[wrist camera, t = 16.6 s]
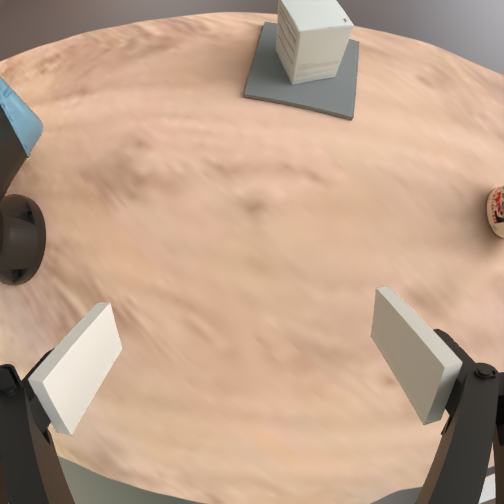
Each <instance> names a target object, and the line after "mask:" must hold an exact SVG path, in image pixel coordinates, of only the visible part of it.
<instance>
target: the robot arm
mask: <svg viewBox="0 0 504 504" xmlns="http://www.w3.org/2000/svg"><path fill="white" fill-rule="evenodd" d="M42 131H43V125H42V122H41V120H40V119H39V117H38V116H37V115H36V114H35V113H34V112H33V111H32V110H31V109H30V108H29V107H28V106H27V105H26V103H25V102H24V101H23V100H22V99H21V98H20V97H19V96H18V95H17V94H16V93H15V92H14V91H13V90H12V88H11V87H10V86H9V85H8V84H7V83H6V82H5V81H4V80H3V79H2V78H1V77H0V282H1V283H4V284H7V285H17V284H23V283H25V282H27V281H28V280H30V279H31V278H32V277H33V276H34V274H35V273H36V271H37V270H38V268H39V266H40V264H41V261H42V258H43V255H44V250H45V243H46V230H45V223H44V218H43V215H42V212H41V210H40V208H39V207H38V205H37V204H36V203H35V202H34V201H33V200H32V199H30V198H28V197H25V196H22V195H17V194H13V195H7V196H4V195H5V193H6V191H7V189H8V188H9V186H10V184H11V182H12V181H13V179H14V177H15V176H16V174H17V172H18V171H19V169H20V167H21V166H22V164H23V163H24V161H25V160H26V158H29V156H30V152H31V150H32V149H33V147H34V146H35V144H36V142H37V141H38V139H39V138H40V136H41V134H42ZM371 337H372V339H373V341H374V342H375V344H376V345H377V347H378V349H379V350H380V352H381V353H382V355H383V357H384V358H385V360H386V362H387V363H388V365H389V367H390V368H391V370H392V372H393V373H394V375H395V377H396V378H397V380H398V382H399V383H400V385H401V387H402V388H403V390H404V392H405V393H406V395H407V397H408V399H409V400H410V402H411V404H412V406H413V407H414V409H415V411H416V413H417V414H418V416H419V418H420V420H421V421H422V423H423V425H426V424H429V423H432V422H435V421H439V420H441V417H442V415H443V413H444V410H445V409H446V410H447V412H448V413H449V415H450V416H449V418H448V420H447V422H446V424H445V426H444V429H443V431H442V433H441V435H442V438H441V441H440V444H439V447H438V450H437V453H436V455H435V458H434V461H433V463H432V466H431V468H430V471H429V473H428V476H427V478H426V480H425V483H424V485H423V487H422V489H421V492H420V494H419V496H418V498H417V500H416V502H415V504H478V503H479V499H480V496H481V492H482V489H483V485H484V481H485V477H486V472H487V468H488V463H489V458H490V453H491V448H492V442H493V450H494V463H495V483H496V504H504V372H501V373H498V371H497V370H496V369H495V368H494V367H493V366H491V365H489V364H486V363H475V362H474V361H473V360H472V359H471V358H470V357H469V356H468V355H467V353H466V352H465V351H464V350H463V349H462V348H461V347H459V345H458V344H457V343H456V342H454V340H453V339H452V338H451V337H450V336H449V335H448V334H447V333H445V332H443V331H441V330H440V329H434V330H432V329H431V328H430V327H429V325H428V324H427V323H426V322H425V321H424V320H423V319H422V318H421V317H420V316H419V315H418V314H417V313H416V312H415V311H414V310H413V309H412V308H411V307H410V306H409V305H408V304H407V303H406V302H405V301H404V300H403V299H402V298H401V297H400V296H399V295H398V294H397V293H396V292H395V291H394V290H393V289H392V288H391V287H390V286H388V287H379V288H376V295H375V305H374V314H373V323H372V331H371ZM122 349H123V348H122V345H121V341H120V338H119V334H118V331H117V327H116V323H115V320H114V316H113V312H112V308H111V304H110V303H97V304H96V305H95V306H94V307H93V308H92V309H91V310H90V311H89V312H88V313H87V314H86V315H85V316H84V317H83V318H82V319H81V320H80V321H79V323H78V324H77V325H76V326H75V327H74V328H73V329H72V330H71V331H70V332H69V333H68V334H67V335H66V336H65V338H64V339H63V340H62V341H61V342H60V343H59V344H58V345H57V346H56V347H55V348H53V349H52V350H50V351H49V352H47V353H46V354H45V355H44V356H43V357H42V358H41V359H40V361H38V363H37V364H36V365H35V367H33V368H32V369H31V371H30V372H29V373H28V374H27V375H26V376H25V377H24V379H23V380H22V381H21V380H20V378H19V376H18V374H17V372H16V369H15V367H14V366H13V365H11V364H4V365H0V504H8V502H9V504H75V502H74V500H73V497H72V495H71V493H70V490H69V487H68V485H67V482H66V480H65V477H64V474H63V471H62V468H61V465H60V462H59V459H58V456H57V453H56V450H55V447H54V443H53V440H52V436H51V433H50V432H49V430H48V428H47V427H48V426H49V424H50V422H51V423H52V425H53V426H54V428H55V430H56V431H57V432H59V433H62V434H66V435H70V436H72V434H73V432H74V431H75V429H76V427H77V425H78V423H79V422H80V420H81V418H82V416H83V414H84V413H85V411H86V409H87V407H88V406H89V404H90V402H91V400H92V399H93V397H94V395H95V394H96V392H97V390H98V388H99V387H100V385H101V383H102V382H103V380H104V378H105V377H106V375H107V373H108V372H109V370H110V368H111V367H112V365H113V363H114V362H115V360H116V358H117V357H118V355H119V354H120V352H121V350H122Z"/></svg>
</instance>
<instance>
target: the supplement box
mask: <svg viewBox="0 0 504 504" xmlns="http://www.w3.org/2000/svg"><path fill="white" fill-rule="evenodd" d="M278 3H279V4H278V24H277V39H276V52H277V54H278V56H279V58H280V61H281V63H282V65H283V67H284V69H285V71H286V73H287V76H288V78H289V80H290V82H291V84H292V85H295V84H300V83H305V82H310V81H315V80H321V79H326V78H332V77H335V76H336V73H337V71H338V68H339V65H340V63H341V60H342V57H343V55H344V52H345V49H346V46H347V44H348V41H349V38H350V36H351V33H352V30H353V28H354V25H353V24H352V22H351V21H350V19H349V18H348V16H347V15H346V13H345V12H344V10H343V9H342V8H341V6H340V5H339V4H338V2H337V1H336V0H279V2H278Z"/></svg>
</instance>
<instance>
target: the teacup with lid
mask: <svg viewBox="0 0 504 504" xmlns="http://www.w3.org/2000/svg"><path fill="white" fill-rule="evenodd" d="M487 217H488V221H489V224H490V226H491V228H492V230H493V231H494V232H495V233H496V234H497V235H498V236H499V237H501V238H504V186H503V187H500V188H497V189H494V190H493V191H492V192H491V193H490V195H489V197H488V200H487Z"/></svg>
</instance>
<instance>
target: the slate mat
mask: <svg viewBox="0 0 504 504" xmlns="http://www.w3.org/2000/svg"><path fill="white" fill-rule="evenodd" d="M276 39H277V24H276V23H269V22H265V23H264V26H263V30H262V33H261V36H260V40H259V43H258V46H257V50H256V53H255V56H254V60H253V63H252V67H251V70H250V74H249V77H248V81H247V85H246V88H245V92H244V98H251V99H257V100H263V101H269V102H274V103H280V104H285V105H290V106H295V107H299V108H304V109H308V110H313V111H317V112H321V113H326V114H330V115H334V116H337V117H341V118H345V119H349V120H352V119H353V117H354V107H355V96H356V84H357V70H358V54H359V42H358V41H354V40H351V39H349V41H348V44H347V46H346V49H345V52H344V55H343V57H342V60H341V63H340V65H339V68H338V71H337V73H336V76H335V77H332V78H326V79H321V80H315V81H310V82H305V83H300V84H295V85H292V84H291V82H290V80H289V78H288V76H287V73H286V71H285V69H284V67H283V65H282V63H281V61H280V58H279V56H278V54H277V52H276Z"/></svg>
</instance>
